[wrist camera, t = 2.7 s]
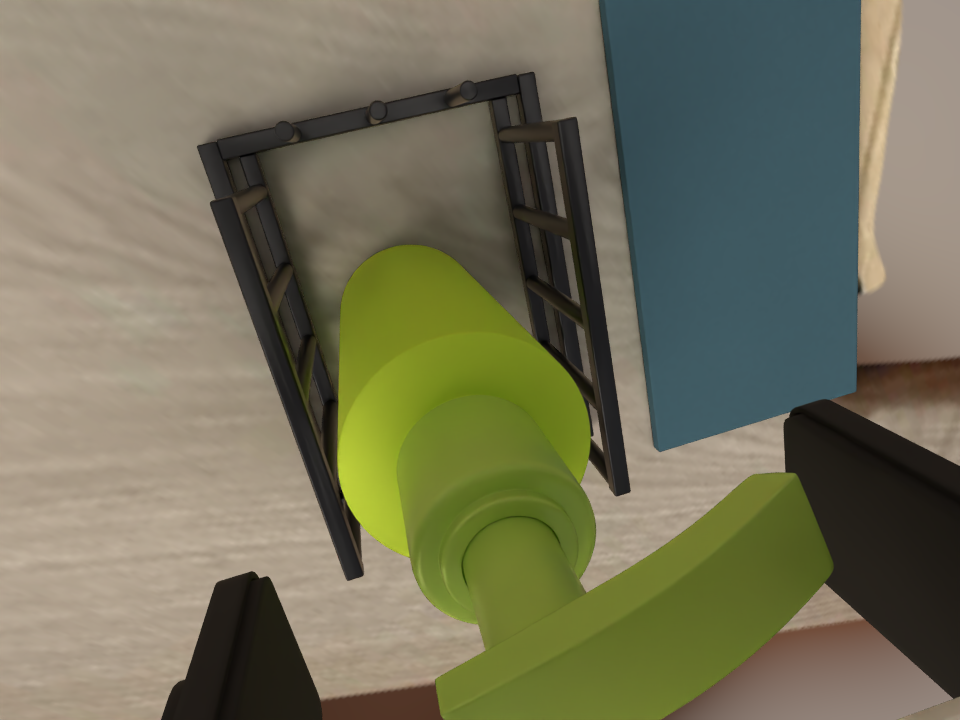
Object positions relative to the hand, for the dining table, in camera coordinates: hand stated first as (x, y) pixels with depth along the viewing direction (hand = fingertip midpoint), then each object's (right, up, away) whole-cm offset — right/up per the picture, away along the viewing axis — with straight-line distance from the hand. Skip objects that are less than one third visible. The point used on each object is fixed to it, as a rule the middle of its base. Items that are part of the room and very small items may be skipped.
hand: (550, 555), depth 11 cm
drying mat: (+11, +10, +17) cm, 22 cm away
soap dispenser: (-4, +6, +16) cm, 17 cm away
